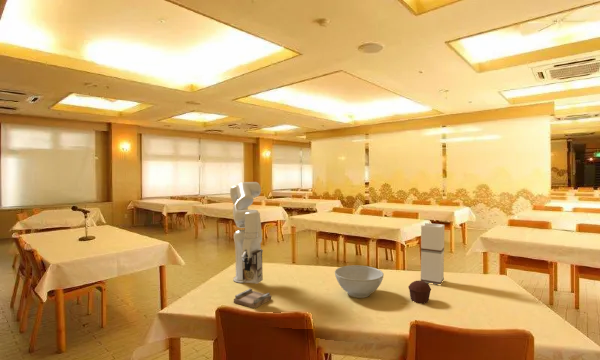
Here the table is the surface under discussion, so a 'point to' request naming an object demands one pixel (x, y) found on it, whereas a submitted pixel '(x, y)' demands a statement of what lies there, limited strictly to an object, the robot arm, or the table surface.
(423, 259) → the mini fridge
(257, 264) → the coffee box
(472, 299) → the table surface
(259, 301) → the stand
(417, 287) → the muffin
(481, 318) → the table surface
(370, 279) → the decorative bowl
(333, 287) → the table surface
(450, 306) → the table surface
